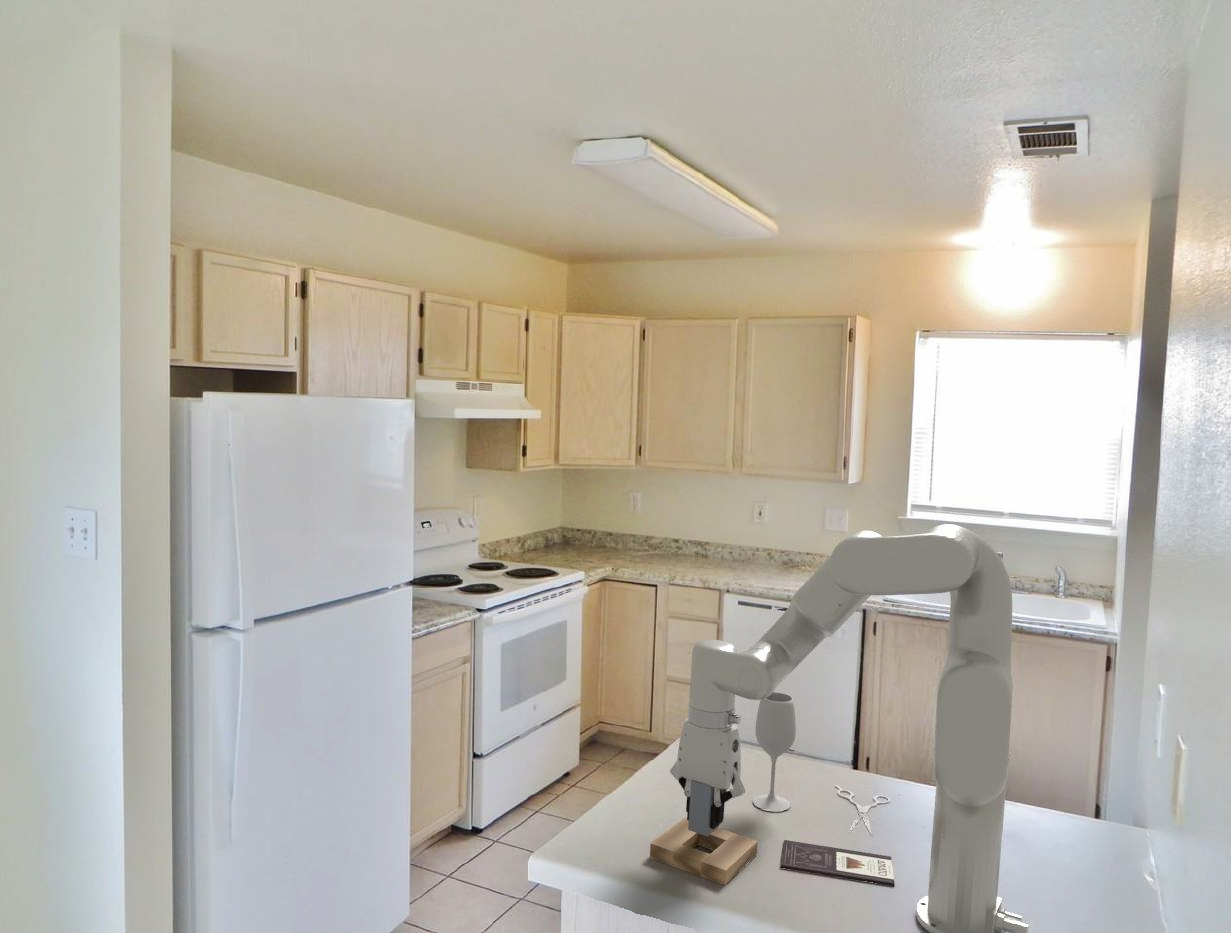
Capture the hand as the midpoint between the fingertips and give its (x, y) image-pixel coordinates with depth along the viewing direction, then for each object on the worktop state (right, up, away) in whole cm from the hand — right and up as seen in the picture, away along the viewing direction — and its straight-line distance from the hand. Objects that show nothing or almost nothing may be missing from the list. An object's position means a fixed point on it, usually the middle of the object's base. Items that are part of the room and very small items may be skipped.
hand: (704, 820), depth 150 cm
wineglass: (+15, -5, +21) cm, 27 cm away
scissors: (+32, -7, +20) cm, 38 cm away
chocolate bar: (+22, -8, 0) cm, 24 cm away
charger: (0, -1, 0) cm, 1 cm away
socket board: (0, -6, 0) cm, 6 cm away
